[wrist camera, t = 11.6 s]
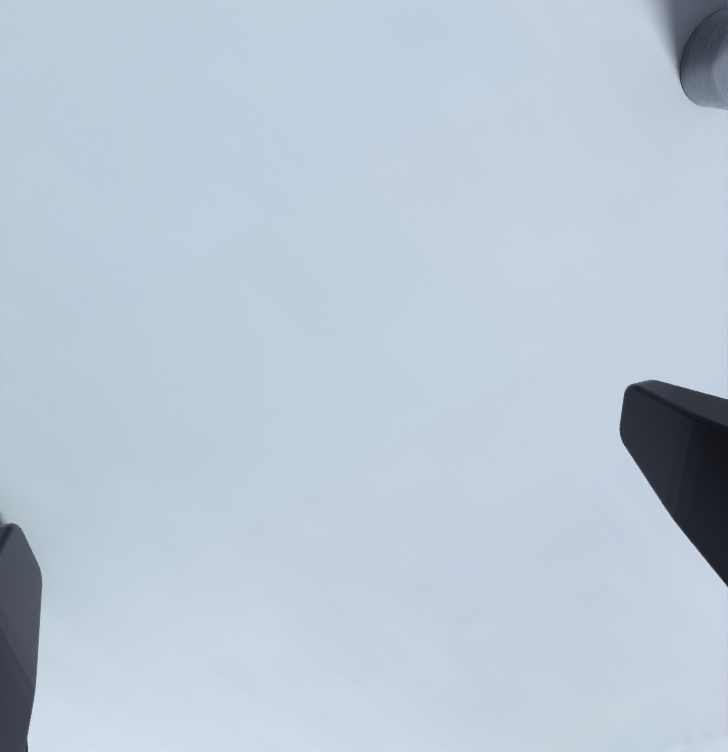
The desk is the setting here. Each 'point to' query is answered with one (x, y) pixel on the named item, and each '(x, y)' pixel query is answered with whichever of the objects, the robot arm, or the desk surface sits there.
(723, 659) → the desk surface
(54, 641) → the desk surface
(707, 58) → the spacer posts
